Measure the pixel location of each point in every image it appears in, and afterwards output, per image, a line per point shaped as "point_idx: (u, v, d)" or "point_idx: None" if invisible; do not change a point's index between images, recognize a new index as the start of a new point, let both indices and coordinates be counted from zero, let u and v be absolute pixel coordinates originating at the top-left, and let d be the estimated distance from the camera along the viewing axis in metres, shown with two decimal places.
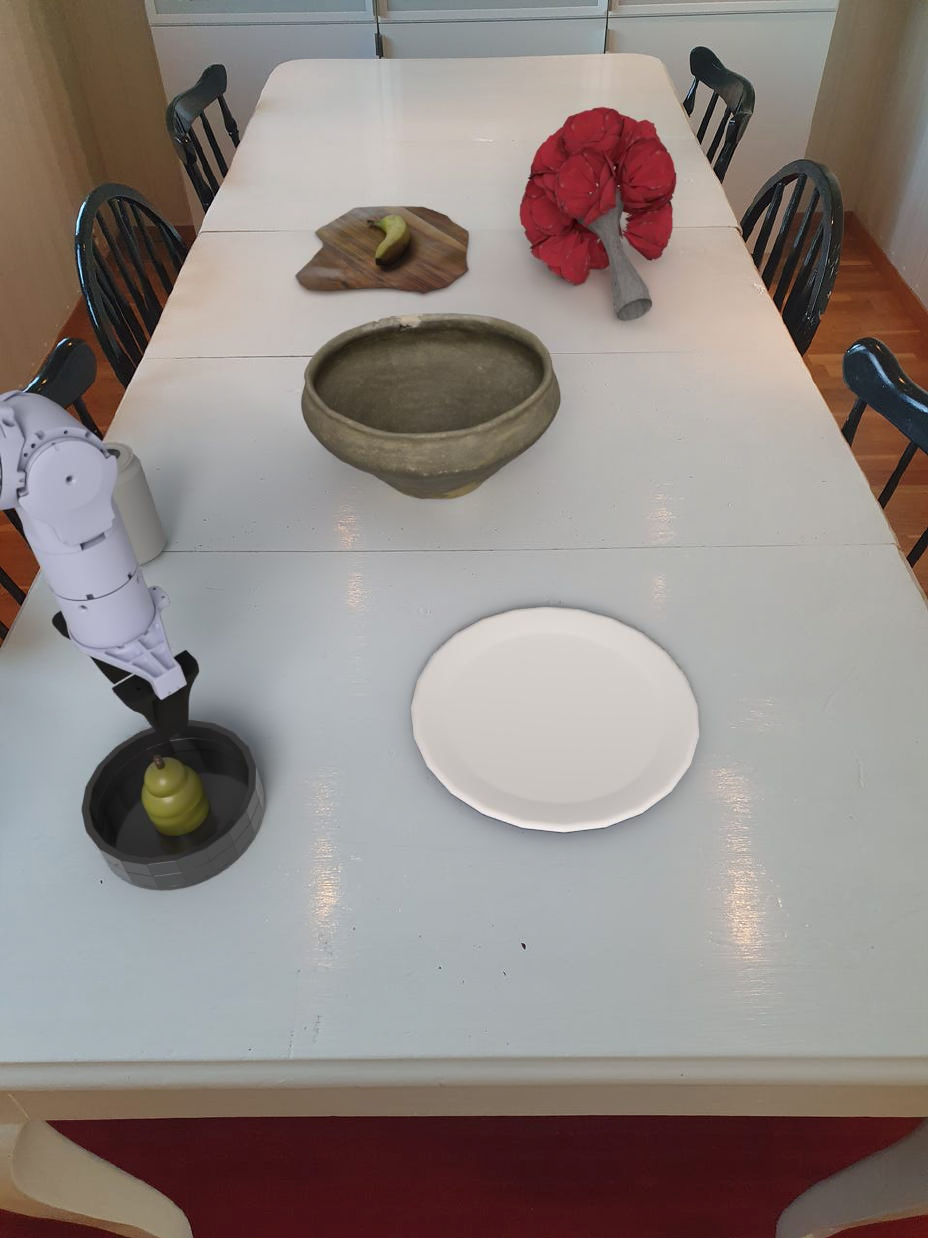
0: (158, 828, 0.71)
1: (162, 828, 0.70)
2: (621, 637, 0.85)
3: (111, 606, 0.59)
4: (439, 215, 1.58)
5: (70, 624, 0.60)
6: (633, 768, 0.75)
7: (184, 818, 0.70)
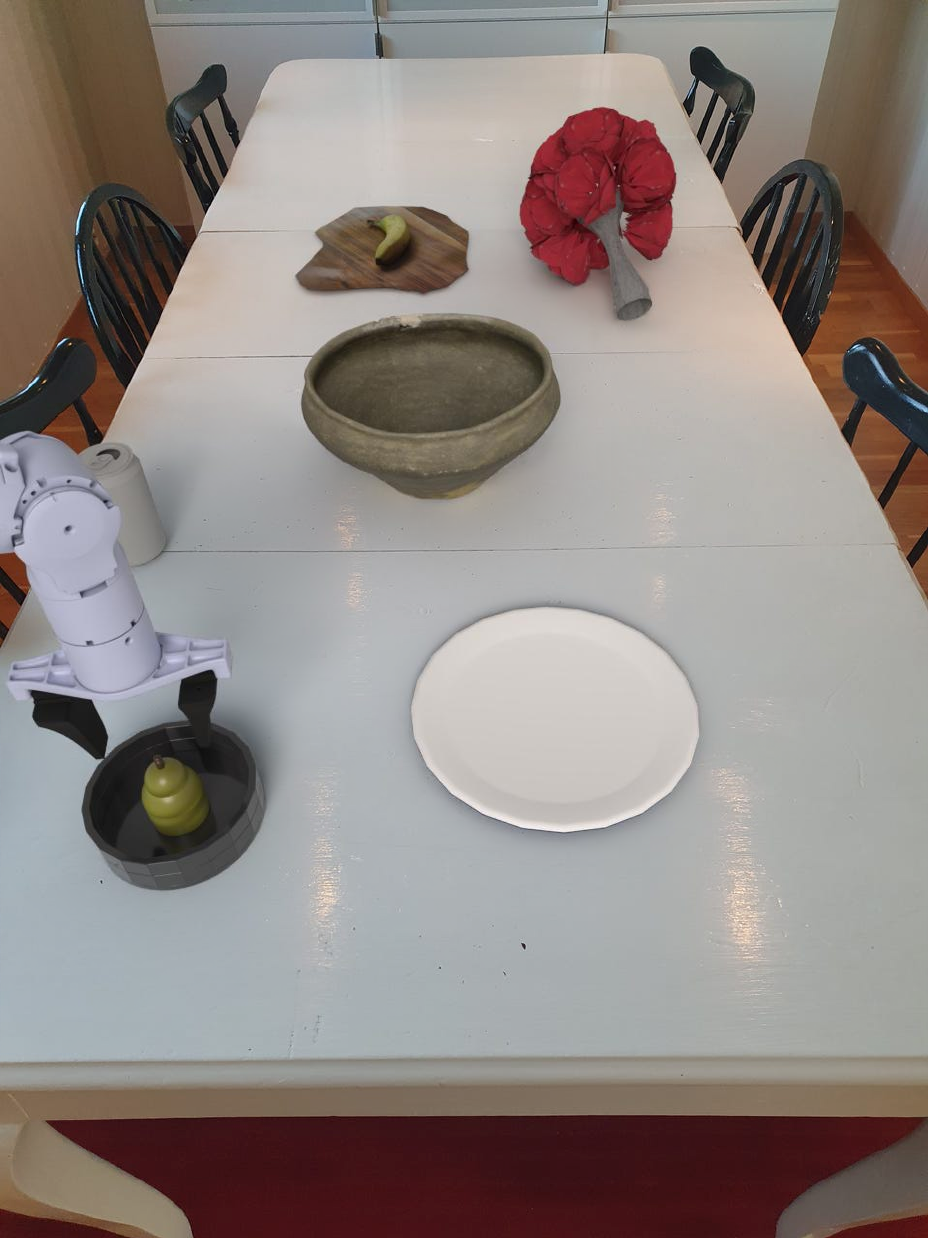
0: (158, 828, 0.71)
1: (162, 828, 0.70)
2: (621, 637, 0.85)
3: (145, 626, 0.59)
4: (439, 215, 1.58)
5: (111, 673, 0.58)
6: (633, 768, 0.75)
7: (184, 818, 0.70)
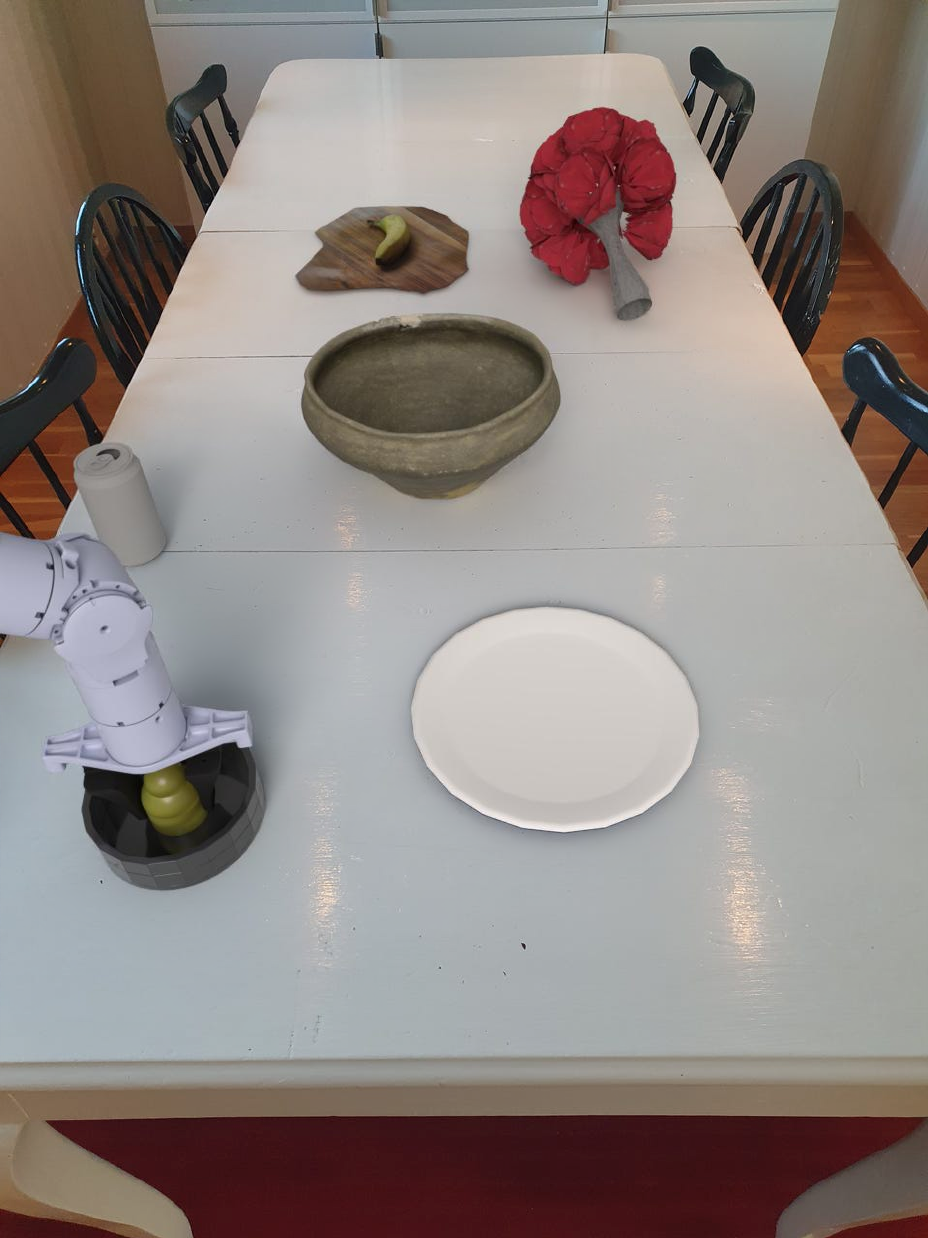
0: (158, 828, 0.71)
1: (162, 828, 0.70)
2: (621, 637, 0.85)
3: (172, 704, 0.63)
4: (439, 215, 1.58)
5: (142, 749, 0.62)
6: (633, 768, 0.75)
7: (183, 818, 0.70)
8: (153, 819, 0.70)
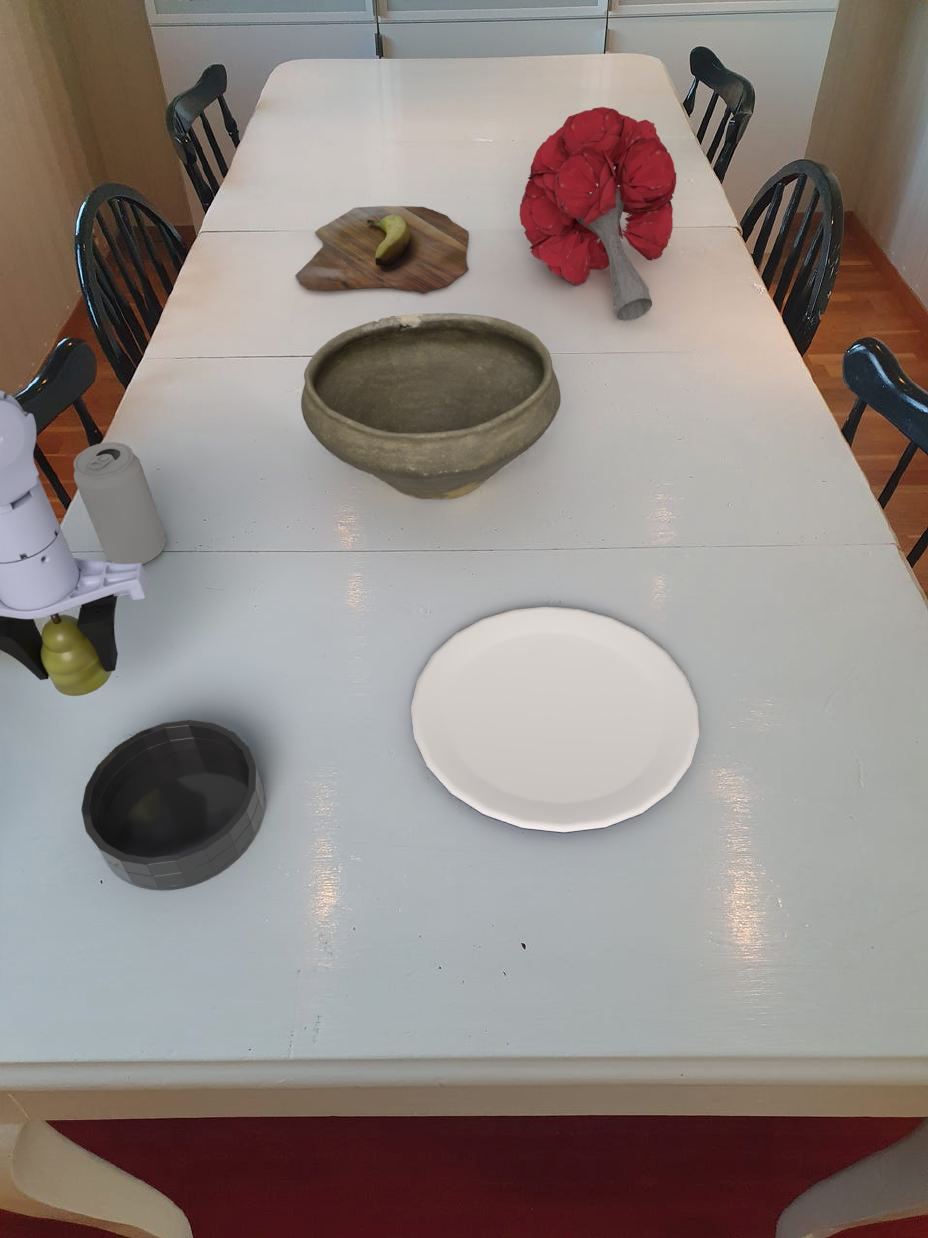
0: (58, 687, 0.72)
1: (62, 687, 0.71)
2: (621, 637, 0.85)
3: (60, 548, 0.64)
4: (439, 215, 1.58)
5: (29, 591, 0.63)
6: (633, 768, 0.75)
7: (83, 676, 0.71)
8: (52, 677, 0.71)
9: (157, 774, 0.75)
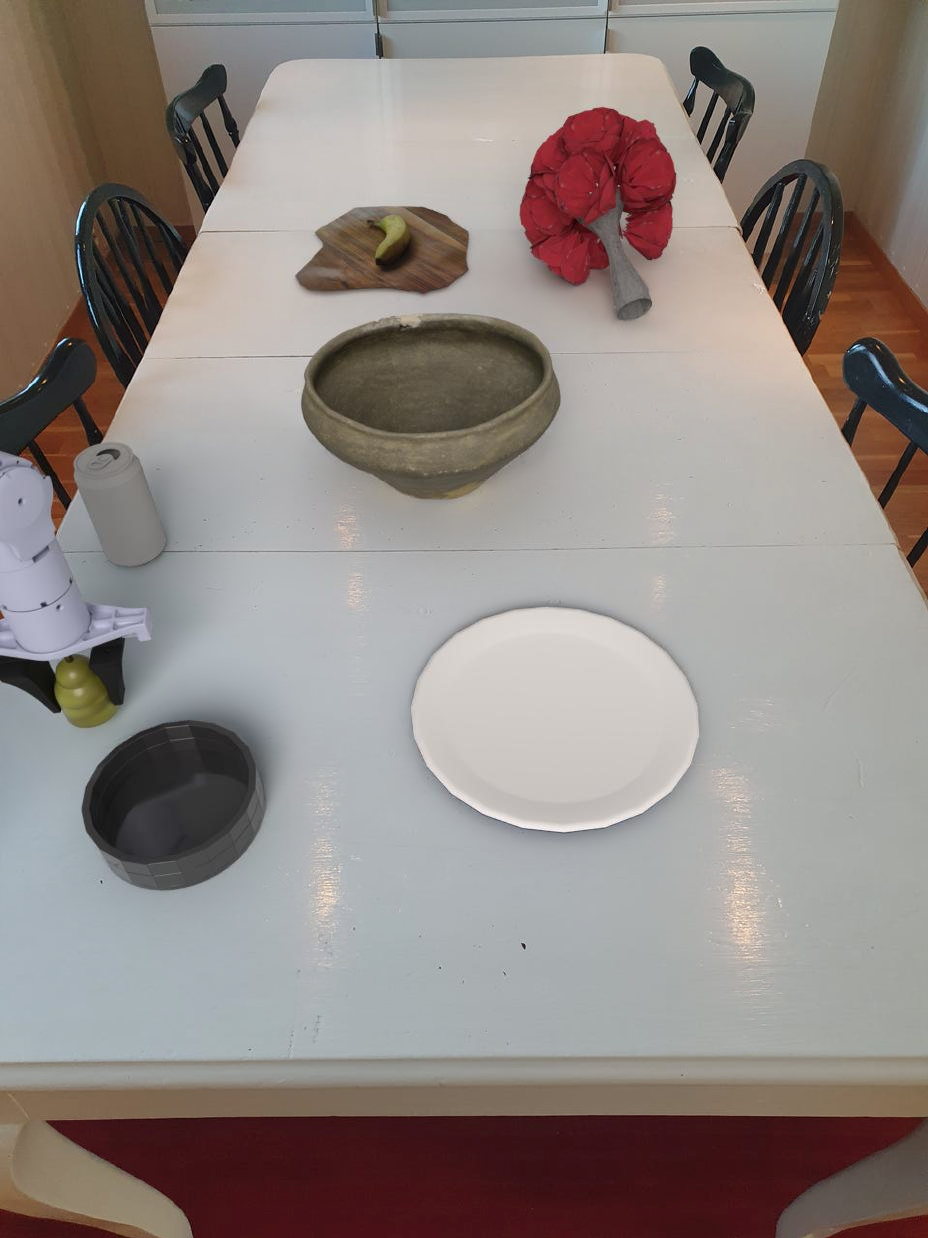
0: (70, 720, 0.77)
1: (73, 720, 0.77)
2: (621, 637, 0.85)
3: (74, 596, 0.70)
4: (439, 215, 1.58)
5: (45, 636, 0.69)
6: (633, 768, 0.75)
7: (93, 710, 0.77)
8: (65, 711, 0.77)
9: (157, 774, 0.75)
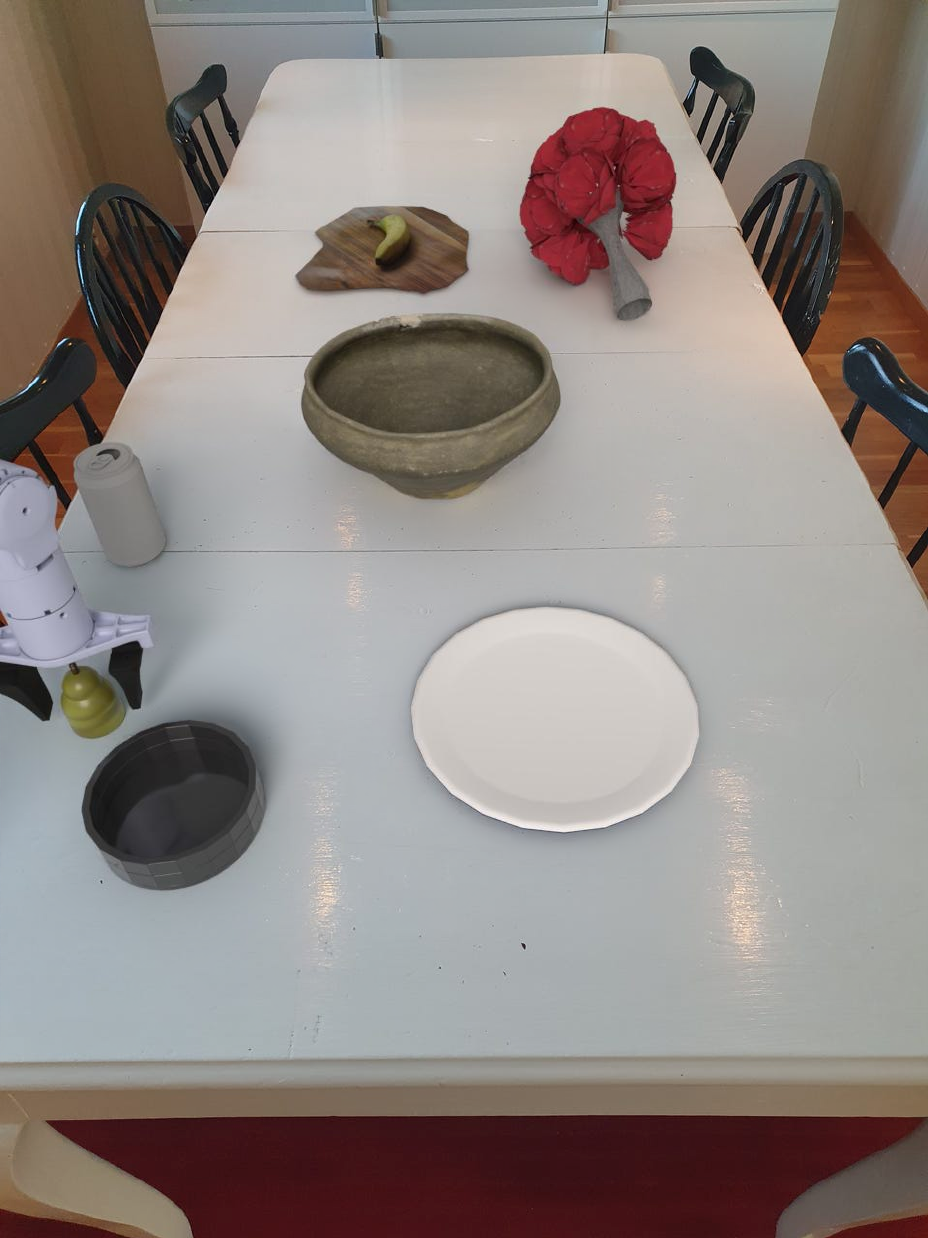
0: (76, 731, 0.79)
1: (79, 730, 0.78)
2: (621, 637, 0.85)
3: (77, 604, 0.70)
4: (439, 215, 1.58)
5: (49, 643, 0.70)
6: (633, 768, 0.75)
7: (99, 721, 0.78)
8: (71, 722, 0.78)
9: (157, 774, 0.75)
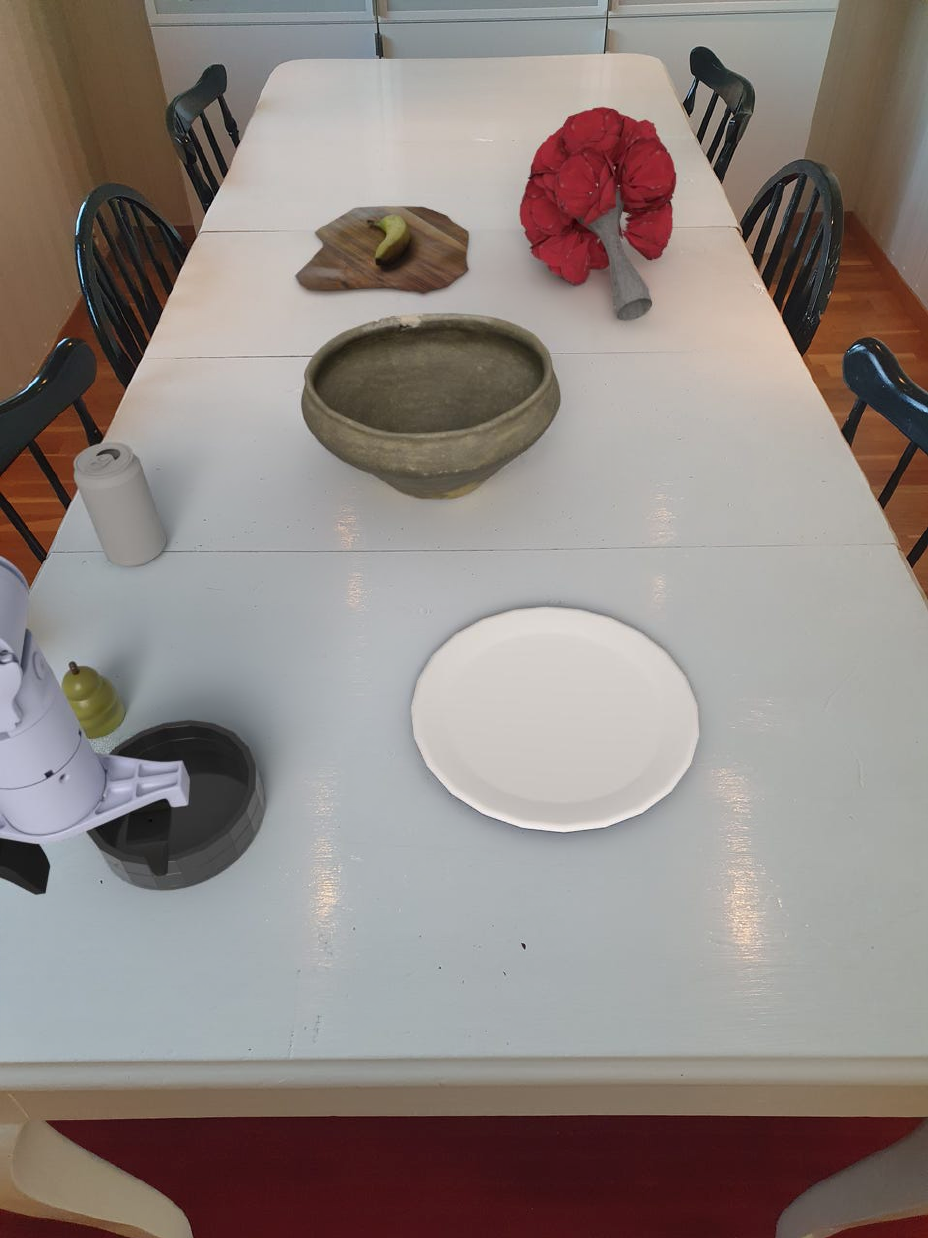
0: None
1: None
2: (621, 637, 0.85)
3: (83, 758, 0.50)
4: (439, 215, 1.58)
5: (44, 815, 0.50)
6: (633, 768, 0.75)
7: (99, 721, 0.78)
8: None
9: None
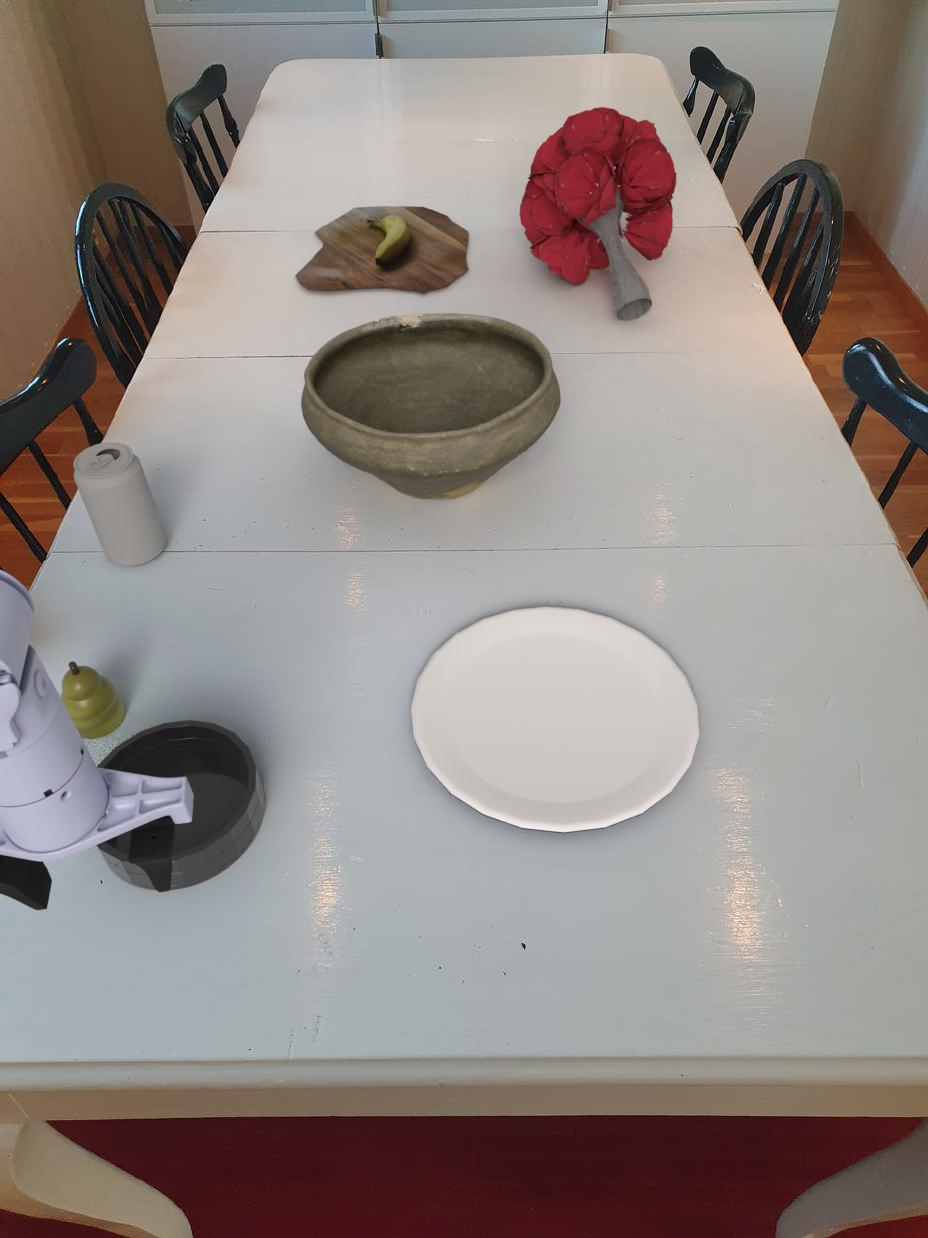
0: None
1: (79, 730, 0.78)
2: (621, 637, 0.85)
3: (85, 774, 0.50)
4: (439, 215, 1.58)
5: (46, 833, 0.49)
6: (633, 768, 0.75)
7: (99, 721, 0.78)
8: None
9: (157, 774, 0.75)
